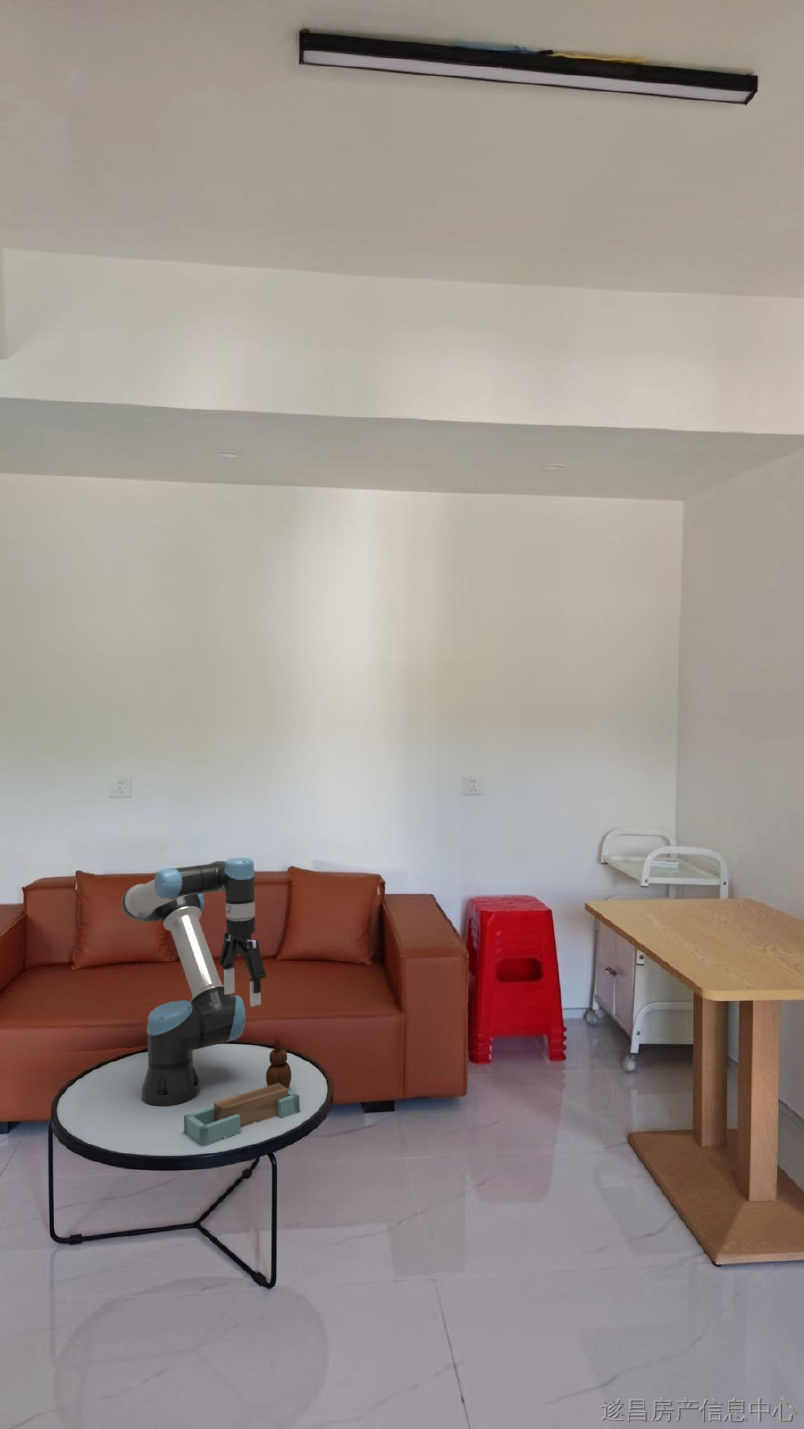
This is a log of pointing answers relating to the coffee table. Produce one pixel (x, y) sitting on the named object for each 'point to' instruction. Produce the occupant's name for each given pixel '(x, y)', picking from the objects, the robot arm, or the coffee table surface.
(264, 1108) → the slat
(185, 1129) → the endcaps
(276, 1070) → the wooden figurine
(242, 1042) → the coffee table surface
